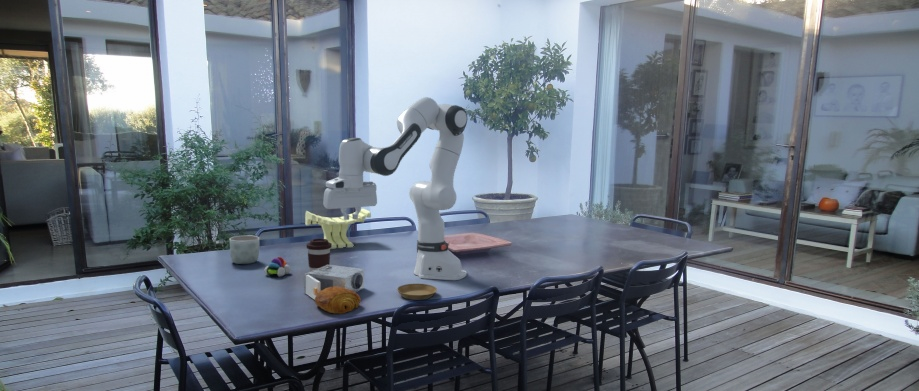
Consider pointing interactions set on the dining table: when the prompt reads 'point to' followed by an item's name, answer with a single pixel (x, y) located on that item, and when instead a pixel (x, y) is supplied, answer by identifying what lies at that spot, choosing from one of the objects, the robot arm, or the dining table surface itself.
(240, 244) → the planter
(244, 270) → the dining table surface
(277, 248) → the dining table surface
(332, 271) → the camera housing
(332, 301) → the croissant
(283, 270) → the rainbow toy
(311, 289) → the panel
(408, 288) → the plant saucer
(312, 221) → the pale yellow ridged piece
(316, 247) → the coffee cup
